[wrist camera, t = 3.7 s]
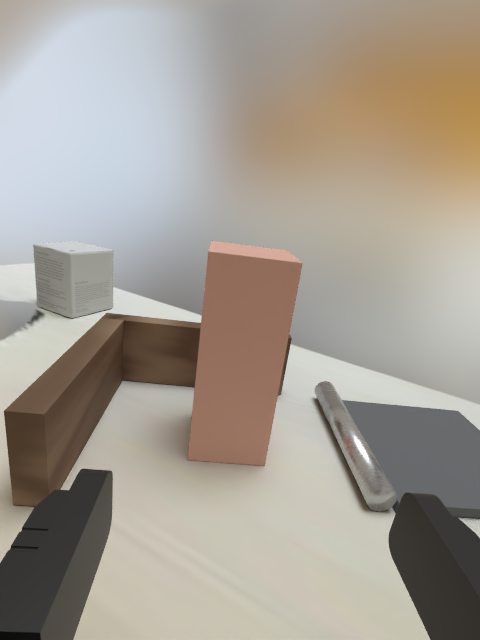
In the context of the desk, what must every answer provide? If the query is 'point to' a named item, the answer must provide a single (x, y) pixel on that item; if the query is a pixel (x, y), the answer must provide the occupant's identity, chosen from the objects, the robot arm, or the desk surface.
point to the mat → (424, 452)
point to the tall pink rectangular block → (241, 351)
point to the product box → (73, 278)
